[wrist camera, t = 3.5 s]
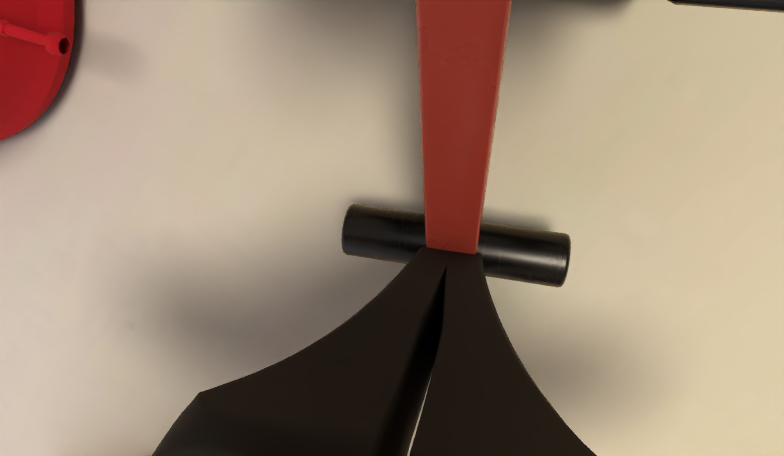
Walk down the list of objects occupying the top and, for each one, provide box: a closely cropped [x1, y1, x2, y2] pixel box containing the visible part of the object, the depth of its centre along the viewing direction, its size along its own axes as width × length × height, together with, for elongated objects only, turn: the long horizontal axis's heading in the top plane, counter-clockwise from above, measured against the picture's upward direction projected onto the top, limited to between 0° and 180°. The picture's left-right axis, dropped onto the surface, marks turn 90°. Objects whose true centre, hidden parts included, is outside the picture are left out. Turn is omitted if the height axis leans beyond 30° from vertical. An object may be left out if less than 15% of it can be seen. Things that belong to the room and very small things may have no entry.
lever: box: [342, 0, 571, 287], centre depth 8 cm, size 12×5×2 cm
